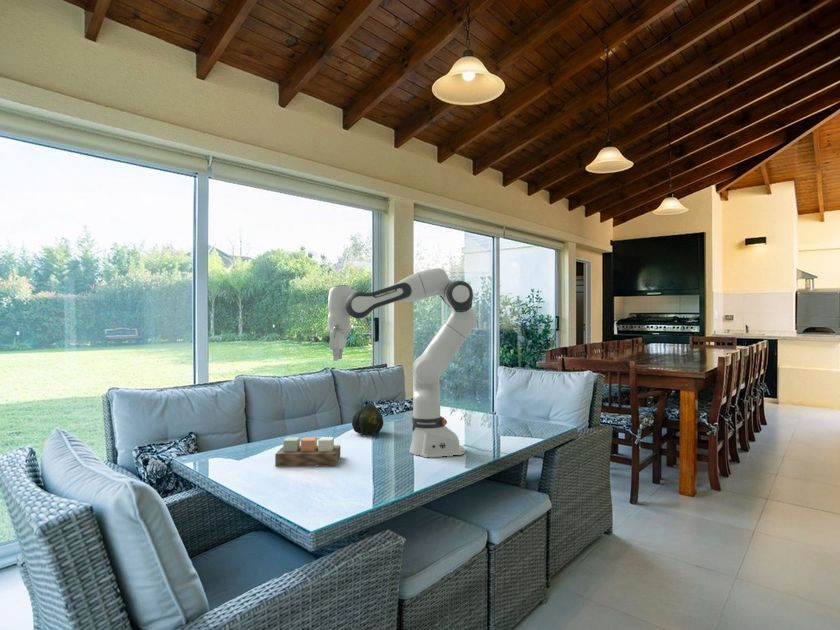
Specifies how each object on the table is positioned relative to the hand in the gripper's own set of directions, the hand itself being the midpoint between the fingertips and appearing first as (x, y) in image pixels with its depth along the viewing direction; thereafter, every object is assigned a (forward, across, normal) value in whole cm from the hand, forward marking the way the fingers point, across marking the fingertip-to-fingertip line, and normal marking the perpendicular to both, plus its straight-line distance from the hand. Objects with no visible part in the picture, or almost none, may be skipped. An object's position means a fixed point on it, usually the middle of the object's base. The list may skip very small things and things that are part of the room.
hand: (337, 359), depth 197 cm
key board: (+38, -11, +8) cm, 40 cm away
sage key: (+34, -11, +15) cm, 39 cm away
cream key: (+34, -11, +2) cm, 36 cm away
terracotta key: (+34, -11, +8) cm, 37 cm away
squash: (+38, +34, -10) cm, 52 cm away
